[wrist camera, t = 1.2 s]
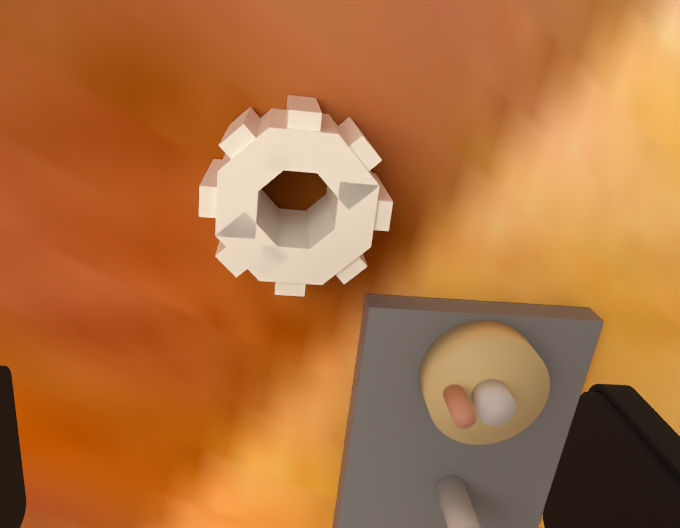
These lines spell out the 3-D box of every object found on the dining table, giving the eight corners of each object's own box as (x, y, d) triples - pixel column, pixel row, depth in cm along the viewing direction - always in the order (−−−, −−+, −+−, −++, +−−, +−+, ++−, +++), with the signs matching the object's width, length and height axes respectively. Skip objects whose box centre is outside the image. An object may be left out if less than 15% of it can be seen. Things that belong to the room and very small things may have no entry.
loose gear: (384, 104, 25) (406, 122, 21) (363, 257, 28) (378, 302, 24) (216, 86, 24) (200, 101, 20) (211, 246, 27) (196, 291, 23)
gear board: (589, 307, 30) (678, 391, 23) (500, 597, 39) (547, 723, 32) (365, 293, 29) (390, 378, 22) (322, 598, 37) (331, 730, 30)
